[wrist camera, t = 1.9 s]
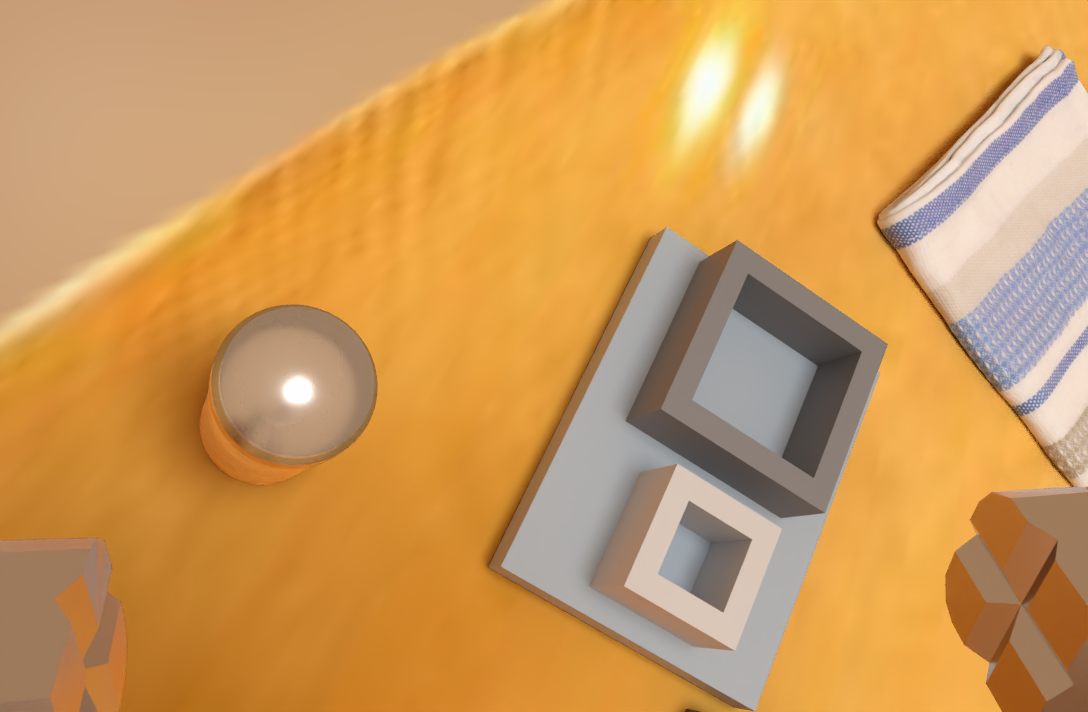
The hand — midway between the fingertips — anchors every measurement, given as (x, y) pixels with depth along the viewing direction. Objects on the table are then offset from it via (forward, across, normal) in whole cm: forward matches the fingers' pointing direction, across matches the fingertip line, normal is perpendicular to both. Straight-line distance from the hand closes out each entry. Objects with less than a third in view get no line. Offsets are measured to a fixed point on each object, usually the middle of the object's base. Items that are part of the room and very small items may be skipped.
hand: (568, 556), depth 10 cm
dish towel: (+34, -36, +21) cm, 54 cm away
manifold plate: (+24, -12, +22) cm, 35 cm away
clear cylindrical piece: (+23, +6, +18) cm, 30 cm away
